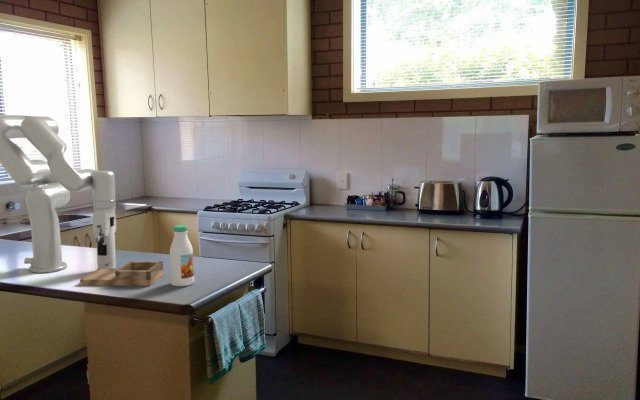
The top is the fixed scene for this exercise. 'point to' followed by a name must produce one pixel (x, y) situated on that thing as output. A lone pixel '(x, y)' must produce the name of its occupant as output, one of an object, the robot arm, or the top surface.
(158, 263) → the open box
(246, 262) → the top surface
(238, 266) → the top surface
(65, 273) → the top surface
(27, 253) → the top surface
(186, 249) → the milk bottle
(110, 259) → the travel mug
